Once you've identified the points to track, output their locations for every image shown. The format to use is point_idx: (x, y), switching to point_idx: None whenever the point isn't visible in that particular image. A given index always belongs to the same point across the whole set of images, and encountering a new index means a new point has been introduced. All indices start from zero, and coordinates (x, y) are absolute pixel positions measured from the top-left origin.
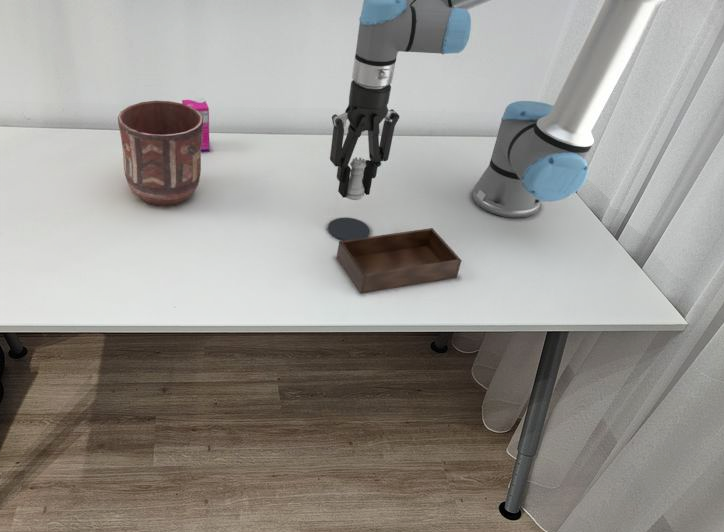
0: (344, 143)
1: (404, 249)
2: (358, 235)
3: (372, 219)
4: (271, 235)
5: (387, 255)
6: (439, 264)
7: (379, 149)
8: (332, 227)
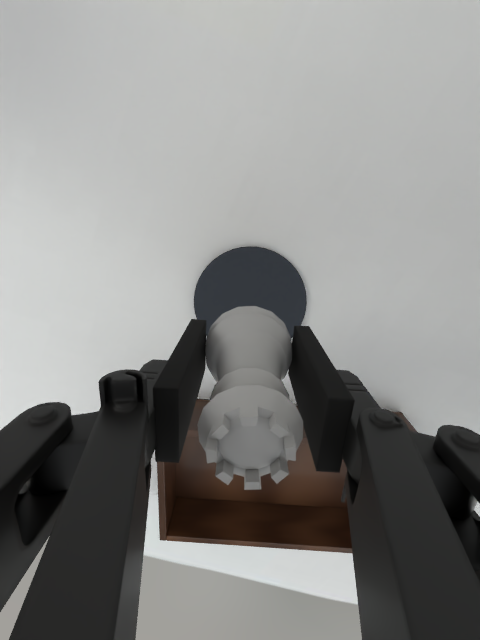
0: (47, 560)
1: None
2: None
3: (341, 273)
4: (39, 264)
5: None
6: (338, 551)
7: (467, 484)
8: (209, 286)
